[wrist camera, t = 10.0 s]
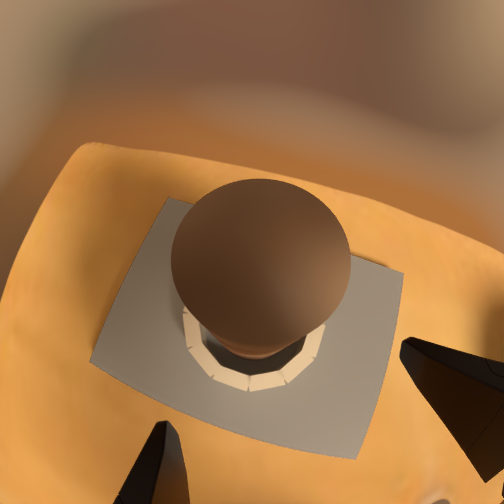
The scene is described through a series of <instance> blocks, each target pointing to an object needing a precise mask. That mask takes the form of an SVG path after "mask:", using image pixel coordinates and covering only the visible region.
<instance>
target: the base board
mask: <svg viewBox="0 0 504 504" xmlns="http://www.w3.org/2000/svg"><path fill="white" fill-rule="evenodd" d="M193 206H194V205H193V204H190V203H186V202H183V201H180V200H176V199H173V198H169V197H168V199H167V201H166V203H165V204H164V206H163V208H162V209H161V211H160V213H159V215H158V216H157V218H156V220H155V222H154V223H153V225H152V227H151V229H150V231H149V232H148V234H147V236H146V238H145V240H144V242H143V243H142V245H141V247H140V249H139V251H138V253H137V255H136V257H135V259H134V261H133V263H132V265H131V267H130V269H129V271H128V273H127V275H126V277H125V279H124V281H123V283H122V285H121V287H120V289H119V292H118V294H117V296H116V298H115V300H114V303H113V305H112V307H111V309H110V312H109V314H108V316H107V319H106V321H105V323H104V326H103V328H102V330H101V333H100V335H99V338H98V340H97V343H96V345H95V348H94V351H93V353H92V356H91V359H90V361H89V362H90V363H92V364H93V365H95V366H96V367H98V368H100V369H101V370H103V371H104V372H106V373H108V374H109V375H111V376H112V377H114V378H116V379H117V380H119V381H121V382H123V383H124V384H126V385H128V386H130V387H132V388H133V389H135V390H137V391H139V392H141V393H143V394H145V395H146V396H148V397H150V398H152V399H154V400H156V401H158V402H160V403H162V404H165V405H167V406H169V407H171V408H173V409H175V410H178V411H180V412H182V413H184V414H187V415H189V416H191V417H194V418H196V419H199V420H201V421H204V422H206V423H209V424H211V425H214V426H217V427H219V428H222V429H225V430H228V431H231V432H234V433H237V434H240V435H243V436H246V437H249V438H253V439H256V440H260V441H263V442H267V443H270V444H274V445H278V446H282V447H286V448H291V449H295V450H300V451H304V452H309V453H315V454H320V455H326V456H333V457H340V458H347V459H356V458H357V456H358V453H359V451H360V448H361V446H362V443H363V441H364V438H365V436H366V433H367V430H368V428H369V425H370V422H371V419H372V416H373V413H374V410H375V407H376V404H377V401H378V398H379V394H380V391H381V388H382V384H383V381H384V377H385V373H386V369H387V365H388V361H389V357H390V353H391V348H392V344H393V339H394V334H395V329H396V324H397V318H398V312H399V306H400V299H401V292H402V285H403V276H404V273H401V272H398V271H396V270H393V269H390V268H387V267H385V266H382V265H379V264H376V263H373V262H370V261H368V260H365V259H362V258H359V257H356V256H353V255H351V271H350V278H349V282H348V286H347V289H346V292H345V294H344V296H343V299H342V300H341V302H340V304H339V305H338V307H337V309H336V310H335V311H334V312H333V314H332V315H331V316H330V317H329V318H328V319H327V320H326V321H325V322H324V323H323V324H322V325H320V326H319V327H318V328H316V329H315V330H313V331H312V332H310V333H309V334H307V335H305V336H304V337H302V338H301V339H299V340H297V341H296V342H294V343H292V344H291V345H289V346H287V347H285V348H284V349H282V350H280V351H279V352H277V353H275V354H273V355H272V356H270V357H268V358H265V359H262V360H245V359H242V358H239V357H237V356H235V355H234V354H232V353H231V352H230V351H229V350H228V349H227V348H226V347H224V346H223V345H222V344H221V343H220V342H219V341H218V340H217V339H216V338H215V337H214V336H213V335H212V334H211V333H210V332H209V331H208V330H207V329H206V328H205V327H204V326H203V325H202V324H201V323H200V322H199V321H198V320H197V319H196V318H195V317H194V316H193V315H192V314H191V313H190V312H189V310H188V309H187V308H186V306H185V305H184V303H183V302H182V300H181V298H180V296H179V294H178V292H177V290H176V287H175V284H174V281H173V276H172V271H171V251H172V244H173V241H174V237H175V234H176V232H177V229H178V227H179V225H180V223H181V221H182V220H183V218H184V217H185V215H186V214H187V213H188V211H189V210H190V209H191V208H192V207H193Z"/></svg>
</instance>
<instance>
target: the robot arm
mask: <svg viewBox="0 0 504 504" xmlns="http://www.w3.org/2000/svg"><path fill="white" fill-rule="evenodd" d="M400 360H401V362H402V364H403V365H404V367H405V368H406V370H407V372H408V373H409V375H410V377H411V378H412V380H413V382H414V383H415V385H416V387H417V388H418V389H419V391H420V392H421V393H422V395H423V396H424V397H425V399H426V400H427V401H428V403H429V404H430V405H431V407H432V408H433V409H434V411H435V412H436V413H437V415H438V416H439V417H440V419H441V420H442V422H443V423H444V424H445V426H446V427H447V428H448V430H449V431H450V433H451V434H452V435H453V437H454V438H455V440H456V441H457V442H458V444H459V445H460V447H461V448H462V450H463V451H464V453H465V454H466V456H467V457H468V459H469V460H470V462H471V463H472V465H473V466H474V468H475V469H476V471H477V472H478V474H479V475H480V477H481V478H482V480H483V481H484V482H485V483H486V482H488V481H489V480H490V479H492V478H493V477H494V476H495V475H497V474H498V473H499V472H500V471H501V470H503V469H504V363H503V362H499V361H494V360H490V359H487V358H483V357H479V356H476V355H472V354H469V353H465V352H462V351H458V350H455V349H451V348H448V347H445V346H441V345H438V344H434V343H431V342H428V341H425V340H421V339H418V338H415V337H408V338H407V339H405V340H403V341H402V344H401V349H400ZM118 494H119V495H117V497H116V499H115V501H114V503H113V504H190V498H189V490H188V481H187V473H186V467H185V463H184V458H183V454H182V449H181V444H180V439H179V435H178V433H177V431H176V430H175V429H174V427H173V426H172V425H171V423H170V422H169V421H159V422H157V423H156V424H155V426H154V428H153V430H152V432H151V433H150V435H149V437H148V439H147V441H146V443H145V445H144V447H143V448H142V450H141V452H140V454H139V456H138V458H137V460H136V461H135V463H134V465H133V467H132V469H131V471H130V473H129V475H128V476H127V478H126V480H125V482H124V484H123V486H122V488H121V490H120V491H119V493H118ZM502 496H503V498H504V484H503V489H502ZM500 504H504V500H503V501H502V502H501V503H500Z"/></svg>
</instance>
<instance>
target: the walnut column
mask: <svg viewBox="0 0 504 504" xmlns="http://www.w3.org/2000/svg"><path fill="white" fill-rule="evenodd" d="M171 271H172V276H173V281H174V284H175V287H176V290H177V292H178V294H179V296H180V298H181V300H182V302H183V303H184V305H185V306H186V308H187V309H188V310H189V312H190V313H191V314H192V315H193V316H194V317H195V318H196V319H197V320H198V321H199V322H200V323H201V324H202V325H203V326H204V327H205V328H206V329H207V330H208V331H209V332H210V333H211V334H212V335H213V336H214V337H215V338H216V339H217V340H218V341H219V342H220V343H221V344H222V345H223V346H224V347H226V348H227V349H228V350H229V351H230V352H231V353H232V354H234V355H235V356H237V357H239V358H242V359H245V360H262V359H265V358H268V357H270V356H272V355H273V354H275V353H277V352H279V351H280V350H282V349H284V348H285V347H287V346H289V345H291V344H292V343H294V342H296V341H297V340H299V339H301V338H302V337H304V336H305V335H307V334H309V333H310V332H312V331H313V330H315V329H316V328H318V327H319V326H320V325H322V324H323V323H324V322H325V321H326V320H327V319H328V318H329V317H330V316H331V315H332V314H333V312H334V311H335V310H336V309H337V307H338V305H339V304H340V302H341V300H342V299H343V296H344V294H345V292H346V289H347V286H348V282H349V278H350V271H351V255H350V249H349V244H348V241H347V238H346V235H345V233H344V230H343V228H342V226H341V224H340V223H339V221H338V220H337V218H336V216H335V215H334V214H333V213H332V212H331V210H330V209H329V208H328V207H327V206H326V205H325V204H324V203H323V202H322V201H320V200H319V199H318V198H317V197H315V196H314V195H312V194H311V193H309V192H307V191H306V190H304V189H302V188H300V187H297V186H295V185H292V184H289V183H286V182H282V181H278V180H271V179H248V180H241V181H237V182H233V183H230V184H227V185H224V186H222V187H219V188H217V189H215V190H213V191H212V192H210V193H208V194H207V195H205V196H204V197H203V198H202V199H200V200H199V201H198V202H197V203H196V204H195V205H194V206H193V207H192V208H191V209H190V210H189V211H188V213H187V214H186V215H185V217H184V218H183V220H182V221H181V223H180V225H179V227H178V229H177V232H176V234H175V237H174V241H173V244H172V251H171Z"/></svg>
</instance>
